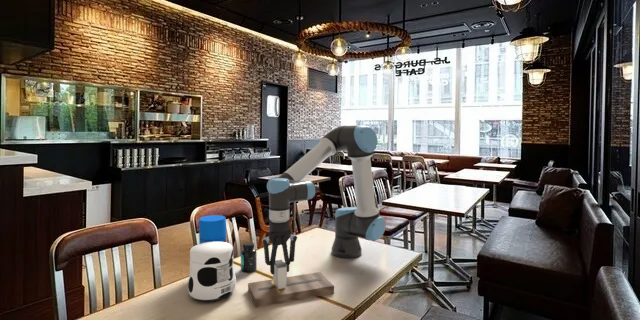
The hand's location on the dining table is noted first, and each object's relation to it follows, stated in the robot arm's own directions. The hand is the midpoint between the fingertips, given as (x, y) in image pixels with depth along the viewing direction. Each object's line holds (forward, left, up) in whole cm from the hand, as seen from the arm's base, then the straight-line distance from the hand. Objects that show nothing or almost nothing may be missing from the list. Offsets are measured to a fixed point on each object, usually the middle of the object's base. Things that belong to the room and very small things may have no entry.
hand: (279, 280), depth 134 cm
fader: (0, 0, -2) cm, 2 cm away
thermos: (+22, -26, -5) cm, 34 cm away
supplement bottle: (+7, -27, -5) cm, 28 cm away
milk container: (+24, -9, -5) cm, 26 cm away
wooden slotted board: (-4, 0, -5) cm, 7 cm away
